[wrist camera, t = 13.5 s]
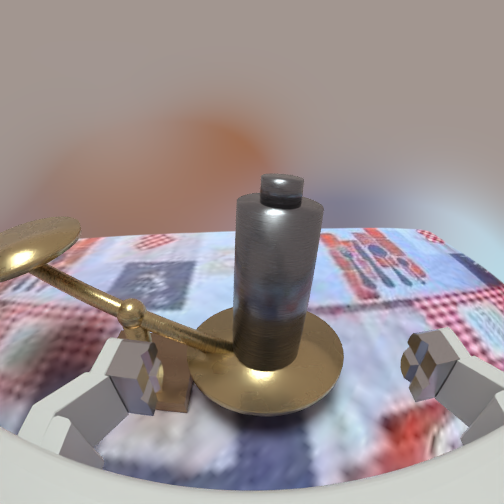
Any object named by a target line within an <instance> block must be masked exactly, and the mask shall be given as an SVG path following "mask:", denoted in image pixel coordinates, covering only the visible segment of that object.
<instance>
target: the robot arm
mask: <svg viewBox="0 0 504 504" xmlns="http://www.w3.org/2000/svg"><path fill="white" fill-rule="evenodd" d="M408 345H409V348H408V349H407V350H406V351H405V352H404V353H403V355H402V358H401V371H402V374H403V377H404V378H405V379H406V380H408V381H409V382H410V385H409V389H410V392H411V394H412V396H413V398H414V400H415V402H418V401H423V400H427V399H431V398H435V397H436V398H435V399H436V400H437V401H438V402H440V403H441V404H442V405H443V406H444V407H446V408H447V409H448V410H449V411H450V412H452V413H453V414H454V415H455V416H456V417H458V418H459V419H460V420H461V421H462V422H464V423H465V424H466V425H467V426H468V427H469V428H468V429H467V430H466V431H465V432H464V433H463V434H462V436H461V438H460V439H461V441H462V443H463V446H462V447H459V448H457V449H455V450H452V451H450V452H448V453H445V454H443V455H440V456H438V457H435V458H432V459H430V460H427V461H424V462H421V463H418V464H415V465H412V466H409V467H406V468H403V469H399V470H396V471H392V472H389V473H385V474H381V475H377V476H373V477H368V478H364V479H359V480H354V481H349V482H344V483H338V484H332V485H325V486H317V487H309V488H299V489H286V490H265V491H236V490H215V489H202V488H192V487H184V486H176V485H169V484H163V483H157V482H152V481H147V480H142V479H137V478H133V477H128V476H124V475H120V474H116V473H113V472H109V471H105V470H102V468H103V465H104V460H103V458H102V457H101V456H100V455H99V454H98V452H97V451H96V450H95V449H94V448H93V447H95V446H96V445H97V444H98V443H99V442H100V441H101V440H102V439H103V438H104V437H105V436H106V435H107V434H108V433H109V432H111V431H112V430H113V429H114V428H115V427H116V426H117V425H118V424H119V423H120V422H121V421H122V420H123V419H124V418H125V417H126V416H127V415H128V413H134V414H141V415H149V416H154V412H155V408H156V405H157V401H158V399H157V396H156V394H155V393H156V392H158V391H159V390H160V389H161V387H162V383H163V367H162V363H161V361H160V360H159V359H158V358H157V357H156V356H157V353H158V350H157V347H156V344H155V343H153V342H147V341H138V340H129V339H119V338H112V337H111V338H109V339H108V340H107V341H106V343H105V345H104V347H103V348H102V350H101V352H100V354H99V356H98V358H97V360H96V361H95V363H94V365H93V367H92V369H91V371H90V372H85V373H83V374H82V375H80V376H79V377H77V378H75V379H74V380H72V381H71V382H69V383H68V384H66V385H64V386H63V387H61V388H60V389H58V390H56V391H55V392H53V393H52V394H50V395H48V396H47V397H45V398H44V399H42V400H41V401H39V402H37V403H36V404H34V405H33V406H32V408H31V410H30V412H29V414H28V416H27V417H26V419H25V421H24V423H23V425H22V427H21V429H20V431H19V433H18V435H15V434H13V433H11V432H9V431H7V430H6V429H4V428H2V427H0V504H504V372H503V371H501V370H499V369H497V368H495V367H494V366H492V365H490V364H488V363H486V362H485V361H483V360H481V359H479V358H477V357H476V356H471V355H470V354H469V352H468V351H467V350H466V348H465V347H464V346H463V344H462V343H461V341H460V340H459V339H458V337H457V336H456V335H455V333H454V332H453V331H452V329H450V328H448V327H446V328H441V329H436V330H431V331H425V332H419V333H413V334H412V335H411V336H410V338H409V340H408Z"/></svg>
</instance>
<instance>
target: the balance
mask: <svg viewBox="0 0 504 504" xmlns="http://www.w3.org/2000/svg"><path fill="white" fill-rule="evenodd" d="M80 236H81V227H80V223H79V221H78V220H76V219H74V218H71V217H51V218H44V219H39V220H35V221H31V222H28V223H24V224H21V225H18V226H15V227H13V228H11V229H8V230H6V231H4V232H1V233H0V282H3V281H6V280H10V279H13V278H15V277H18V276H21V275H23V274H26V273H30V274H32V275H34V276H35V277H37V278H39V279H41V280H42V281H44V282H46V283H48V284H50V285H52V286H53V287H55V288H57V289H59V290H61V291H63V292H65V293H67V294H69V295H71V296H73V297H75V298H76V299H78V300H81V301H83V302H85V303H87V304H89V305H91V306H93V307H95V308H97V309H99V310H101V311H103V312H106V313H108V314H110V315H112V316H114V317H117V319H118V321H119V323H120V324H121V325H122V326H123V329H124V331H122V330H121V332H120V334H119V336H118V338H119V339H129V340H138V341H147V342H153V343H155V344H156V347H157V350H158V353H157V356H156V357H157V358H158V359H159V360H160V361H161V363H162V367H163V383H162V387H161V389H160V390H159V391H158V392H156V393H155V394H156V396H157V399H158V401H157V405H156V408H155V409H158V410H166V411H175V412H185V413H187V410H188V404H189V399H190V394H191V388H192V383H193V381H194V382H195V384H196V385H197V387H198V388H199V389H200V390H201V391H202V392H203V394H204V395H206V396H207V397H208V398H209V399H211V400H212V401H214V402H215V403H217V404H219V405H220V406H222V407H224V408H227V409H229V410H232V411H235V412H238V413H242V414H246V415H253V416H280V415H285V414H290V413H294V412H297V411H300V410H303V409H305V408H307V407H309V406H311V405H313V404H315V403H316V402H318V401H319V400H321V399H322V398H323V397H324V396H325V395H326V394H328V393H329V392H330V390H331V389H332V388H333V387H334V385H335V384H336V382H337V380H338V378H339V375H340V372H341V369H342V366H343V359H344V355H343V348H342V344H341V342H340V339H339V337H338V336H337V334H336V333H335V331H334V330H333V329H332V328H331V327H330V326H329V325H328V324H327V323H326V322H325V321H323V320H322V319H320V318H319V317H317V316H316V315H314V314H312V313H310V312H306V317H305V322H304V327H303V332H302V337H301V341H300V346H299V350H298V354H297V357H296V359H295V360H294V361H293V362H292V363H291V364H289V365H288V366H286V367H284V368H281V369H278V370H271V371H265V370H257V369H254V368H251V367H249V366H247V365H245V364H243V363H242V362H241V361H239V360H238V358H237V357H236V356H235V354H234V352H233V348H232V342H233V307H232V308H229V309H226V310H223V311H221V312H219V313H217V314H215V315H213V316H212V317H210V318H208V319H207V320H206V321H205V322H203V323H202V324H201V325H200V326H199V327H198V328H197V329H196V330H195V329H193V328H190V327H187V326H185V325H182V324H179V323H177V322H174V321H171V320H169V319H166V318H164V317H161V316H159V315H156V314H154V313H151V312H149V311H147V310H146V307H145V306H144V304H143V303H142V302H141V301H139V300H137V299H133V298H130V299H126V300H124V301H123V300H121V299H118V298H116V297H114V296H112V295H109V294H107V293H105V292H103V291H101V290H99V289H96V288H94V287H92V286H90V285H88V284H86V283H84V282H82V281H80V280H78V279H76V278H74V277H72V276H70V275H68V274H66V273H64V272H62V271H60V270H58V269H56V268H54V267H52V266H50V265H48V264H46V263H48V262H50V261H52V260H53V259H55V258H57V257H58V256H60V255H61V254H63V253H64V252H65V251H67V250H68V249H69V248H71V247H72V246H73V245H74V244H75V243H76V242H77V240H78V239H79V237H80ZM150 332H152V333H150Z"/></svg>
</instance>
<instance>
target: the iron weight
mask: <svg viewBox="0 0 504 504" xmlns="http://www.w3.org/2000/svg"><path fill="white" fill-rule="evenodd" d="M303 185H304V179H303V178H300V177H297V176H293V175H286V174H264V175H262V176H261V189H260V193H252V194H247V195H244V196H241V197H240V198H238V199H237V211H236V237H235V266H234V300H233V342H232V348H233V352H234V354H235V356H236V357H237V358H238V360H239V361H241V362H242V363H243V364H245V365H247V366H249V367H251V368H254V369H257V370H265V371H271V370H278V369H281V368H284V367H286V366H288V365H289V364H291V363H292V362H293V361H294V360H295V359H296V357H297V354H298V350H299V346H300V341H301V337H302V332H303V327H304V322H305V317H306V312H307V307H308V302H309V297H310V291H311V286H312V280H313V275H314V269H315V263H316V257H317V251H318V245H319V238H320V232H321V224H322V218H323V211H324V208H323V206H322V205H321V204H319V203H317V202H316V201H314V200H311V199H308V198H305V197H302V194H303Z"/></svg>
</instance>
